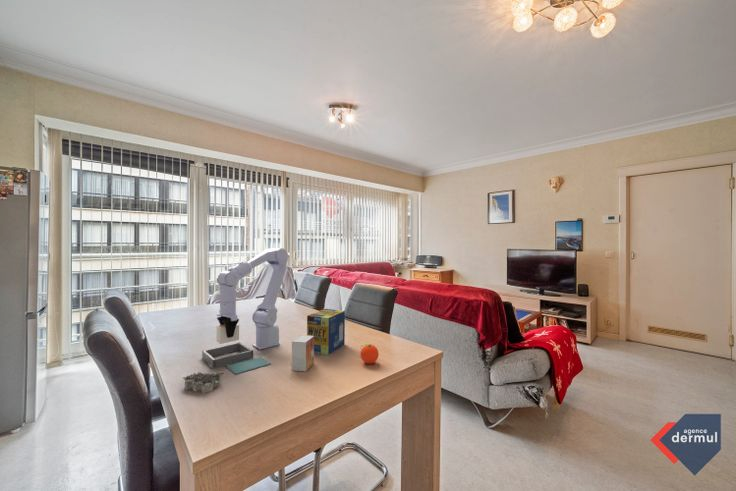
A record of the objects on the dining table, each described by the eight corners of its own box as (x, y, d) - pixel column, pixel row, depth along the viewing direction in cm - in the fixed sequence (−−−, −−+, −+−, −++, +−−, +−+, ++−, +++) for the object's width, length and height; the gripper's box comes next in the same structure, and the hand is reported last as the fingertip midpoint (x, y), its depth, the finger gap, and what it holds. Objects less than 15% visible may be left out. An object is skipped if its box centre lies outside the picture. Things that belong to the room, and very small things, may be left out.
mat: (260, 357, 117) (260, 356, 117) (270, 364, 111) (270, 363, 111) (226, 367, 108) (226, 365, 108) (235, 374, 102) (235, 373, 102)
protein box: (306, 352, 123) (306, 315, 123) (325, 341, 137) (325, 308, 137) (328, 356, 119) (328, 317, 119) (345, 344, 134) (345, 310, 134)
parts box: (216, 341, 116) (216, 325, 116) (234, 337, 121) (235, 322, 121) (220, 344, 113) (220, 327, 113) (239, 339, 118) (239, 324, 118)
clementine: (354, 363, 112) (354, 344, 112) (365, 357, 118) (365, 339, 118) (371, 368, 107) (371, 348, 107) (382, 362, 113) (382, 343, 113)
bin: (239, 349, 127) (239, 342, 127) (253, 357, 117) (253, 350, 117) (202, 358, 117) (202, 350, 117) (213, 368, 107) (213, 360, 107)
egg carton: (225, 384, 95) (225, 372, 95) (205, 395, 88) (205, 382, 88) (201, 378, 99) (201, 366, 99) (179, 389, 92) (180, 376, 92)
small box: (305, 372, 104) (306, 342, 104) (291, 370, 105) (291, 341, 105) (314, 363, 112) (314, 335, 112) (300, 362, 113) (300, 334, 113)
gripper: (211, 300, 119) (211, 333, 119) (223, 305, 109) (223, 342, 109) (229, 298, 124) (229, 330, 124) (242, 303, 114) (242, 338, 114)
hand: (227, 335), depth 117 cm, fingers closed on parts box, 4 cm apart
